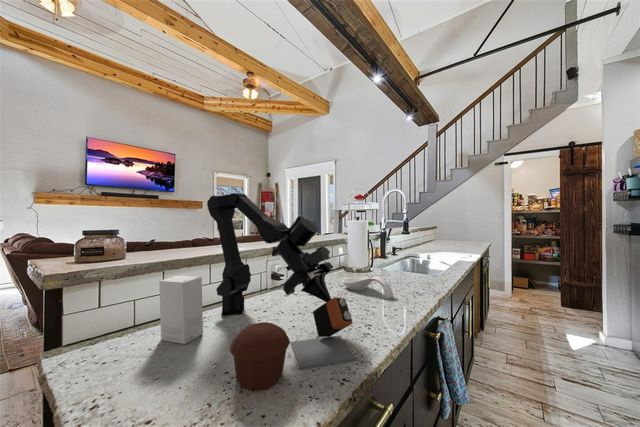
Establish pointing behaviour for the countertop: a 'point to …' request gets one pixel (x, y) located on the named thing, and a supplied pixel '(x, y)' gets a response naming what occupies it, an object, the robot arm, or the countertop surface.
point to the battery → (332, 317)
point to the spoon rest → (364, 282)
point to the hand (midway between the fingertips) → (330, 301)
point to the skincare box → (181, 308)
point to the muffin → (259, 355)
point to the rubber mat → (321, 352)
